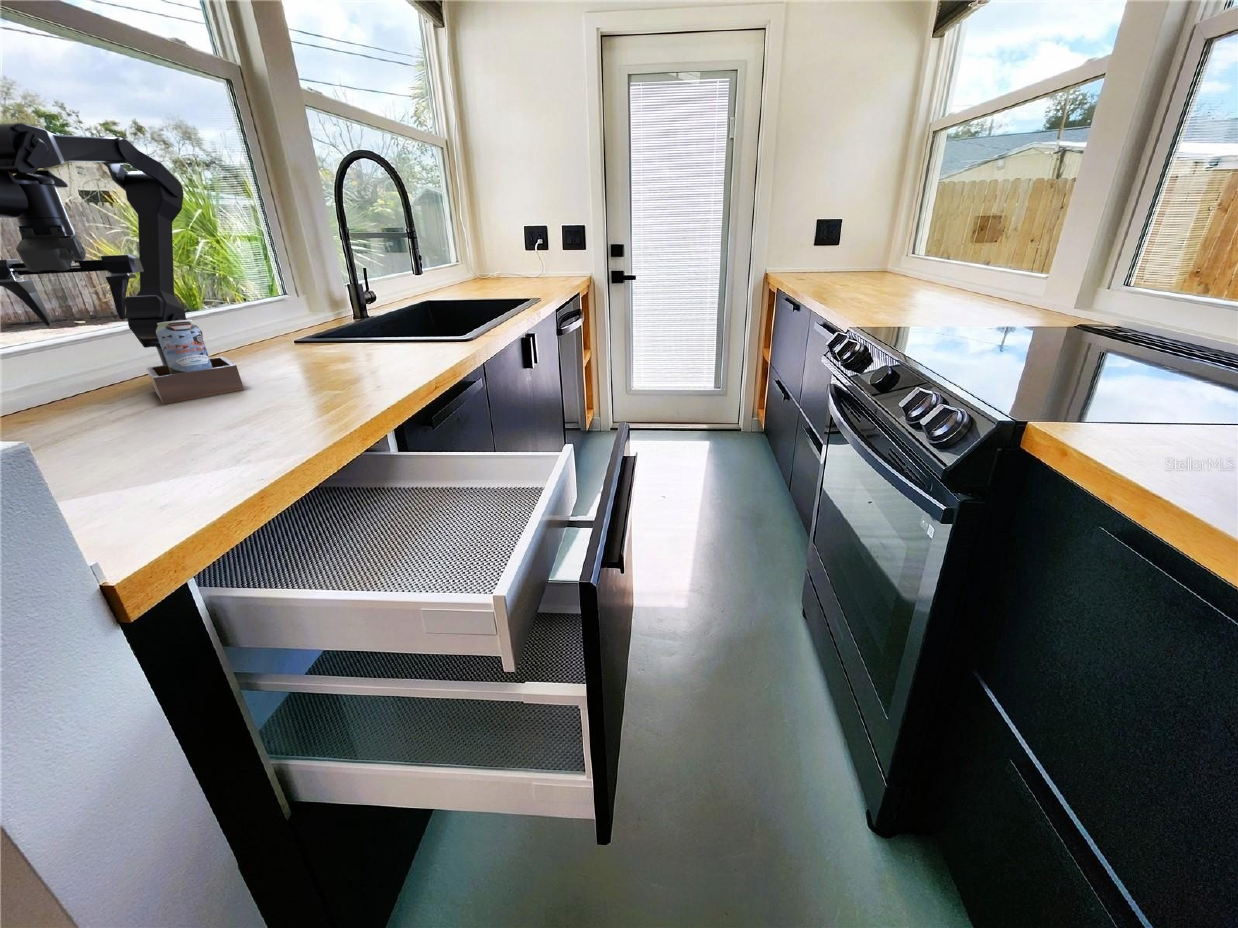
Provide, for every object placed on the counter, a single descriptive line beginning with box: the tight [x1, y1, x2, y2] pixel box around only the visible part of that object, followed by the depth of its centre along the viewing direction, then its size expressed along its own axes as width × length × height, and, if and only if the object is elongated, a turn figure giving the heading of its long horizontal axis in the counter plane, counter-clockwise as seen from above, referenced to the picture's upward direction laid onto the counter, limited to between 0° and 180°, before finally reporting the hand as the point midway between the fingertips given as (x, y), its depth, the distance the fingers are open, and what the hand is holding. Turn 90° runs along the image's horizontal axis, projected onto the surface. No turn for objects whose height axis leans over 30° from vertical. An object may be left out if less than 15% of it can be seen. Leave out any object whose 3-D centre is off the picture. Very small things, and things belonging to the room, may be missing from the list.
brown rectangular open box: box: [146, 356, 245, 405], centre depth 96 cm, size 12×12×4 cm
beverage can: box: [156, 319, 213, 374], centre depth 94 cm, size 6×7×12 cm
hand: (87, 322), depth 88 cm, fingers open, 9 cm apart
